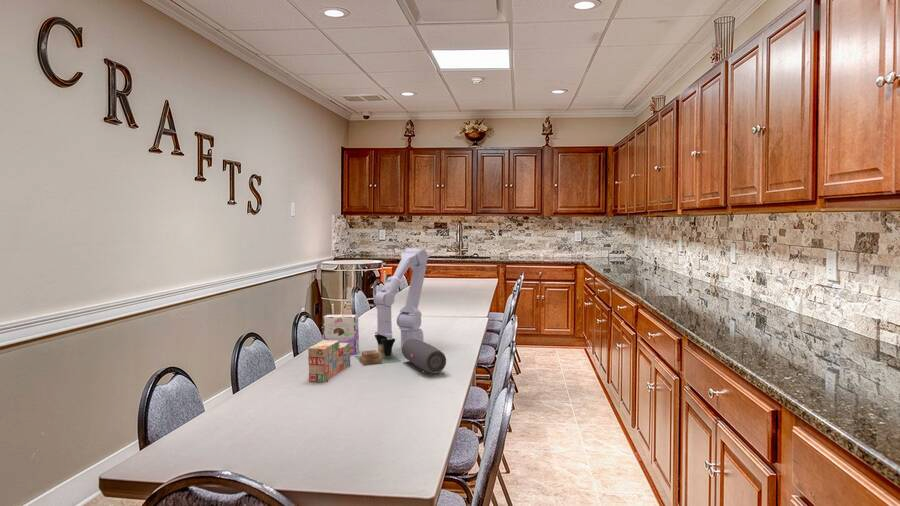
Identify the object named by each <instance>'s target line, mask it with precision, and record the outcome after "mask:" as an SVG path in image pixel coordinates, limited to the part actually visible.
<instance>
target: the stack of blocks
mask: <svg viewBox="0 0 900 506" xmlns="http://www.w3.org/2000/svg"><path fill="white" fill-rule="evenodd" d="M307 348H308V349H307V351H308V356H307V357H308V382H311V383H324V382H325V383H326V381H327V382H328V381H329V380H330V379H331V378H333V377H335V376H336V375H337V374H339V373H341V372H342V371H344V370H346V369H347V368H349V367H350V366H351V355H350V343H339V341H334V340H324V339H323V340H322V341H320V342H318V343H316V344H314V345H312V346H310V347H309V346H308V347H307Z"/></svg>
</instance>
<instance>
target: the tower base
mask: <svg viewBox="0 0 900 506" xmlns="http://www.w3.org/2000/svg"><path fill="white" fill-rule="evenodd" d="M359 356H360V361H359V362H360V364H362V365H363V366H364V365H368V366H374V365H373V364H377V365H382V364H381V363H382V358H381V357H379V358H376V359H367V360H365V359H364V358H363V357H362V356H361V355H359Z"/></svg>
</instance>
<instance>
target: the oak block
mask: <svg viewBox="0 0 900 506" xmlns="http://www.w3.org/2000/svg"><path fill="white" fill-rule="evenodd" d="M377 352H378V353H379V356H380V357H381V358H385V357H392V355H393V350H392V351H391V355H390V356H385V354H384V347H383V344H379V345H378V344H377Z"/></svg>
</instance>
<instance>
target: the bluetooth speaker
mask: <svg viewBox="0 0 900 506" xmlns="http://www.w3.org/2000/svg"><path fill="white" fill-rule="evenodd" d="M423 341H424V340H423ZM423 341H420V340H417V339H408V340H407V341H405V343H404V344H403V346H402V351H401V353H402V355H403V357H404V358H405V359H406V360H407V361H409V362H410V363H412V364H413V365H414V366H415V367H416V368H418V369H419V370H421V371H422V372H423V371H424V373H431V374H438V373H441V372H442V371H443V370H444V369H445V367H446V366H447V358H446V355H445V353H443V351H441V350H440V349H438V348H437V347H435V346H433V345H431V344H430V343H427V342H425V341H424V342H423Z"/></svg>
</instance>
